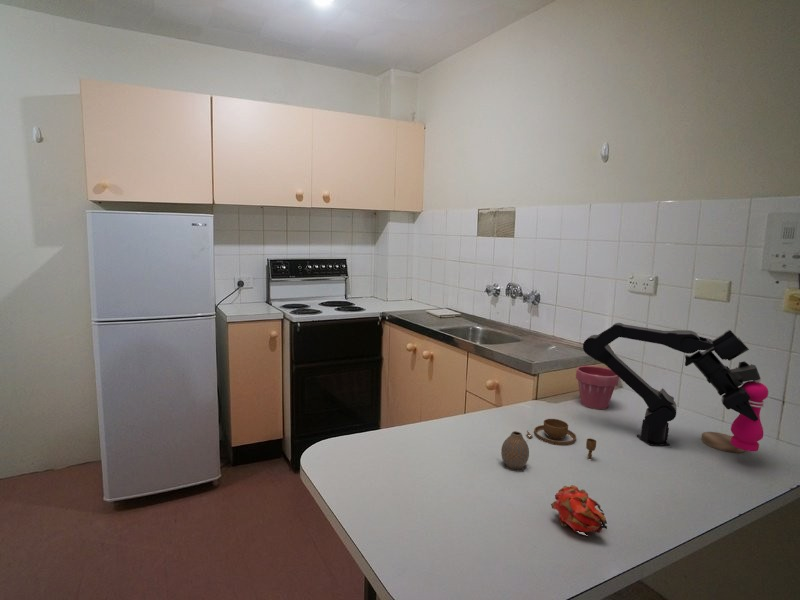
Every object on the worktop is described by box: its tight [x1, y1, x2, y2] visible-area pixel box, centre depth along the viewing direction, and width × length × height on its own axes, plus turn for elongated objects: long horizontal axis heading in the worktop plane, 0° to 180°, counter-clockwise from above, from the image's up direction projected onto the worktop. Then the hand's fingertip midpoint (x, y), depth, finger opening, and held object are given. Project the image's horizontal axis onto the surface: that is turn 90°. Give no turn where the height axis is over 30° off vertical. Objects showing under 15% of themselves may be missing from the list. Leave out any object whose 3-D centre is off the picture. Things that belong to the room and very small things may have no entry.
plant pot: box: [575, 365, 620, 410], centre depth 169 cm, size 14×14×13 cm
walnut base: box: [700, 431, 746, 454], centre depth 141 cm, size 11×11×2 cm
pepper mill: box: [730, 379, 769, 453], centre depth 128 cm, size 7×7×20 cm
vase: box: [500, 430, 530, 470], centre depth 120 cm, size 7×7×9 cm
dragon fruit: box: [550, 485, 608, 536], centre depth 95 cm, size 8×8×12 cm
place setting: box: [525, 418, 597, 460], centre depth 136 cm, size 18×20×6 cm
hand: (755, 417), depth 127 cm, fingers closed on pepper mill, 5 cm apart
